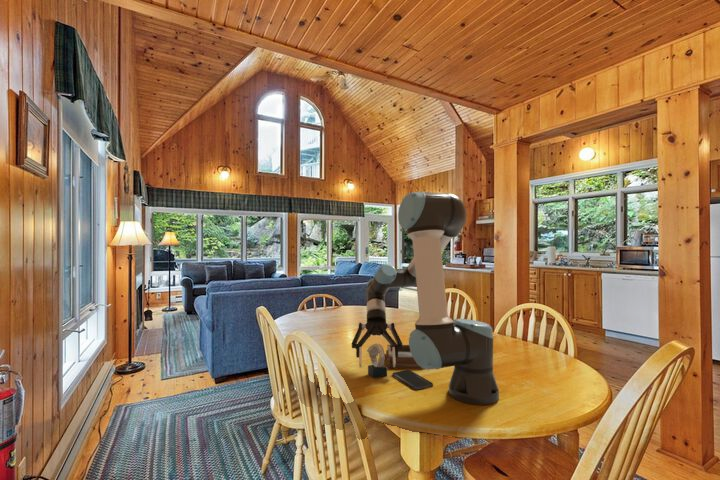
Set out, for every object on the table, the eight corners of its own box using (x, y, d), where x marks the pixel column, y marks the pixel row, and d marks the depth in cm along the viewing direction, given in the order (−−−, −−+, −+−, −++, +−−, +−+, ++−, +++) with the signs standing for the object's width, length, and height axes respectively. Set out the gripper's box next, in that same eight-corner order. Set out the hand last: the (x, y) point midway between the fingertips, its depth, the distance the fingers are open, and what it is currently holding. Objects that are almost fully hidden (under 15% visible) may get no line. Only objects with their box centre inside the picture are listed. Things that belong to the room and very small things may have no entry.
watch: (379, 370, 135) (378, 340, 135) (389, 377, 128) (389, 346, 128) (365, 372, 133) (365, 342, 133) (375, 380, 125) (375, 348, 125)
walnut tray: (427, 368, 137) (427, 357, 137) (388, 367, 137) (388, 357, 137) (421, 353, 154) (421, 344, 154) (386, 353, 154) (386, 344, 154)
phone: (415, 388, 117) (391, 372, 130) (415, 392, 117) (391, 376, 130) (434, 384, 120) (409, 369, 134) (434, 387, 120) (409, 372, 134)
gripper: (405, 318, 145) (410, 370, 130) (346, 318, 146) (344, 370, 130) (406, 307, 140) (411, 360, 125) (345, 307, 140) (343, 360, 125)
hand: (377, 365), depth 128 cm, fingers open, 11 cm apart
